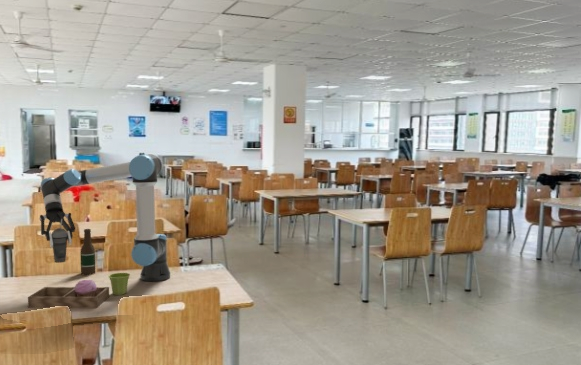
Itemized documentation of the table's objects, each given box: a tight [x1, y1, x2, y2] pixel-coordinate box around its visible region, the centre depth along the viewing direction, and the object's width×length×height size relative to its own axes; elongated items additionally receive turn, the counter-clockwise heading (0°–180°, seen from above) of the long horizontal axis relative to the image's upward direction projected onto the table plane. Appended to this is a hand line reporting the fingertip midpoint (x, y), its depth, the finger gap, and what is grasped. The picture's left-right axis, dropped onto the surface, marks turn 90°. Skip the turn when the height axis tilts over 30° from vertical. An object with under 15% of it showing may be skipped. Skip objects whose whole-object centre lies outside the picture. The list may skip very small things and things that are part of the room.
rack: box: [27, 286, 110, 309], centre depth 216 cm, size 29×15×4 cm, turn 91°
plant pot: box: [108, 272, 131, 296], centre depth 229 cm, size 9×9×9 cm
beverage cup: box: [51, 219, 68, 264], centre depth 227 cm, size 7×7×20 cm
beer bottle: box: [80, 228, 96, 276], centre depth 263 cm, size 8×8×24 cm
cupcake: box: [74, 279, 98, 297], centre depth 216 cm, size 9×9×10 cm
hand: (61, 244), depth 224 cm, fingers closed on beverage cup, 7 cm apart
